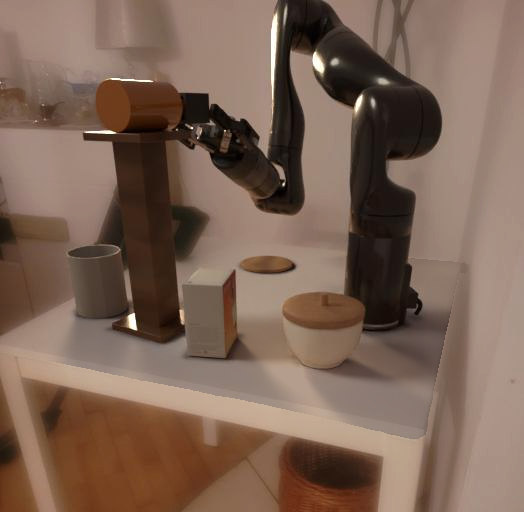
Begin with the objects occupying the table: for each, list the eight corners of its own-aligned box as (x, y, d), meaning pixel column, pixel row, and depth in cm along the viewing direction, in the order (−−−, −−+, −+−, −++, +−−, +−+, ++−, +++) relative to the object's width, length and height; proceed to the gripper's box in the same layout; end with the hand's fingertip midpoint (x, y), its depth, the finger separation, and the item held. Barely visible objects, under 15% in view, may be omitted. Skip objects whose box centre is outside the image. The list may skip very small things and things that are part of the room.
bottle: (182, 127, 76) (179, 84, 74) (213, 128, 74) (211, 83, 71) (99, 132, 63) (91, 79, 61) (133, 133, 61) (127, 78, 58)
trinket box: (366, 378, 62) (373, 309, 58) (282, 377, 62) (283, 309, 58) (354, 341, 72) (359, 280, 67) (281, 341, 72) (281, 280, 68)
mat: (288, 257, 112) (288, 254, 111) (296, 271, 102) (296, 269, 102) (240, 259, 111) (239, 256, 110) (243, 273, 101) (243, 271, 101)
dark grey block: (189, 122, 76) (187, 93, 74) (210, 123, 74) (208, 93, 72) (166, 123, 72) (163, 93, 70) (187, 124, 70) (185, 92, 68)
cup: (86, 300, 87) (76, 244, 83) (132, 299, 87) (125, 244, 83) (70, 318, 80) (58, 258, 75) (120, 318, 80) (112, 258, 75)
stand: (155, 308, 84) (136, 129, 71) (202, 320, 79) (191, 130, 67) (112, 329, 76) (82, 132, 63) (161, 343, 71) (139, 134, 59)
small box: (225, 359, 67) (222, 286, 62) (186, 356, 68) (180, 283, 63) (238, 335, 74) (236, 267, 69) (202, 332, 75) (198, 265, 70)
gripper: (213, 138, 90) (158, 86, 76) (281, 140, 84) (234, 83, 69) (203, 178, 90) (145, 133, 76) (270, 183, 84) (221, 135, 69)
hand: (188, 109), depth 72 cm, fingers open, 8 cm apart
